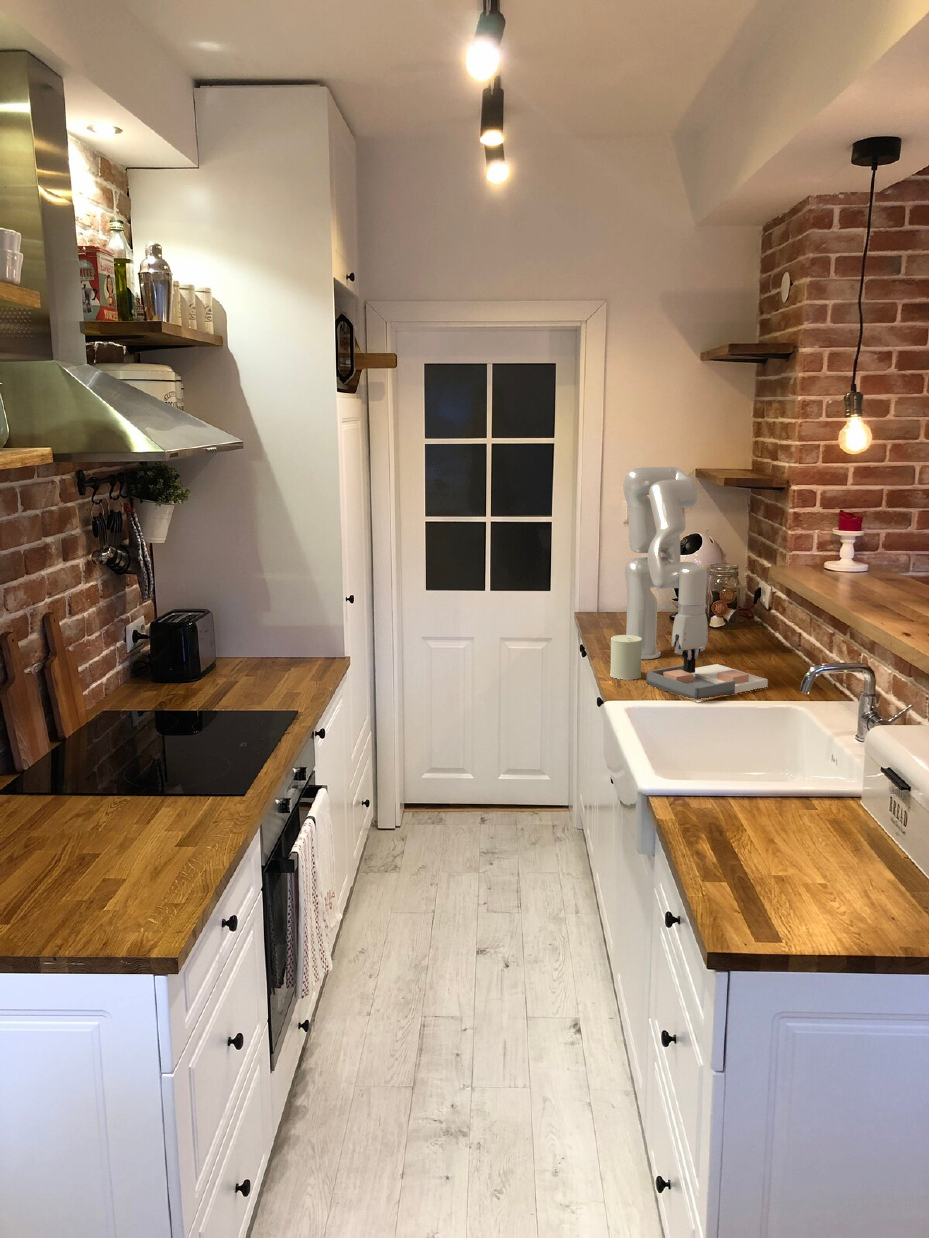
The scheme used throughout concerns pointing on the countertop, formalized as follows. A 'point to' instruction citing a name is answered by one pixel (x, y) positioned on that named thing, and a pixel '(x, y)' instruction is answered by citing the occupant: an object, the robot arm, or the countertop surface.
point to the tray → (689, 685)
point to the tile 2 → (733, 676)
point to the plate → (711, 675)
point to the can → (626, 657)
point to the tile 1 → (679, 675)
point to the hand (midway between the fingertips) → (689, 671)
